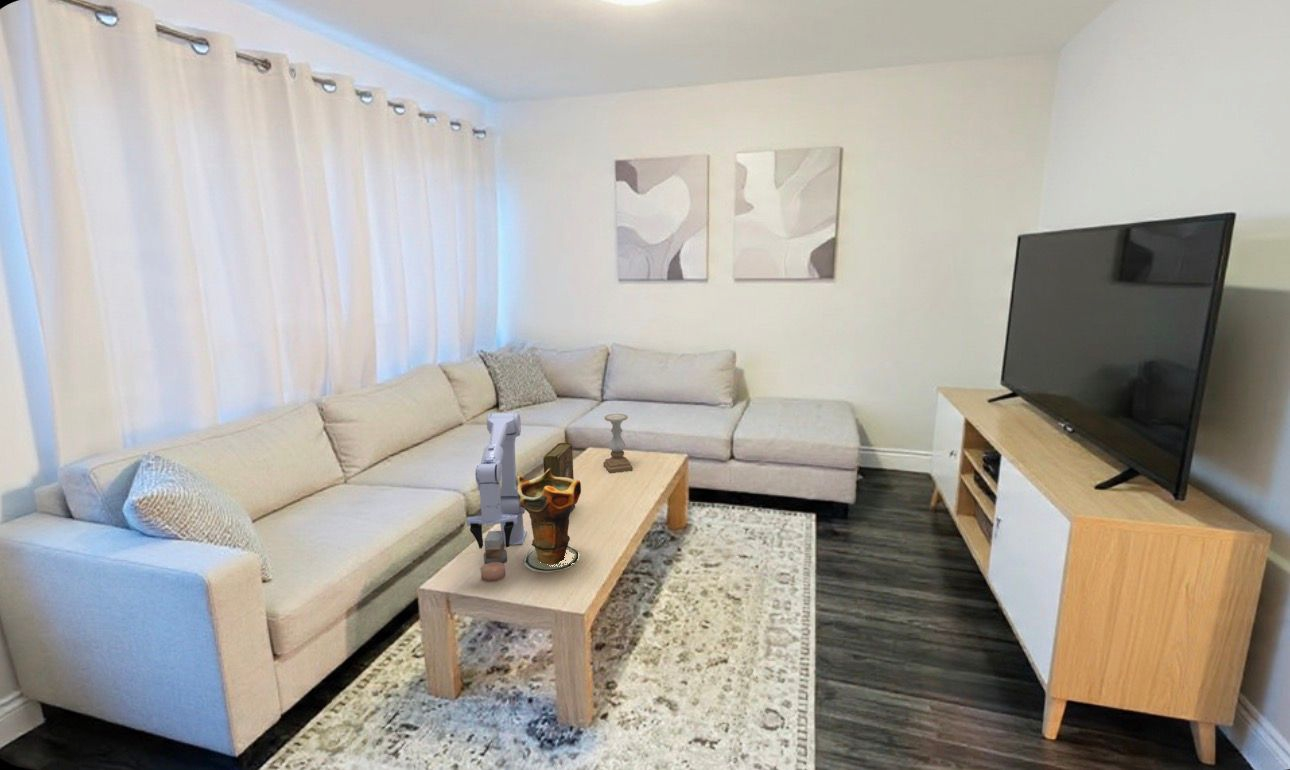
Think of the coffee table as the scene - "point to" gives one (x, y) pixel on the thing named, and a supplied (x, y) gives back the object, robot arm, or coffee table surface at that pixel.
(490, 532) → the housing
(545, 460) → the book
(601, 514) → the coffee table surface
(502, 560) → the stand
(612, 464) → the candle holder
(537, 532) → the decorative vase
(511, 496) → the robot arm
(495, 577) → the stand
